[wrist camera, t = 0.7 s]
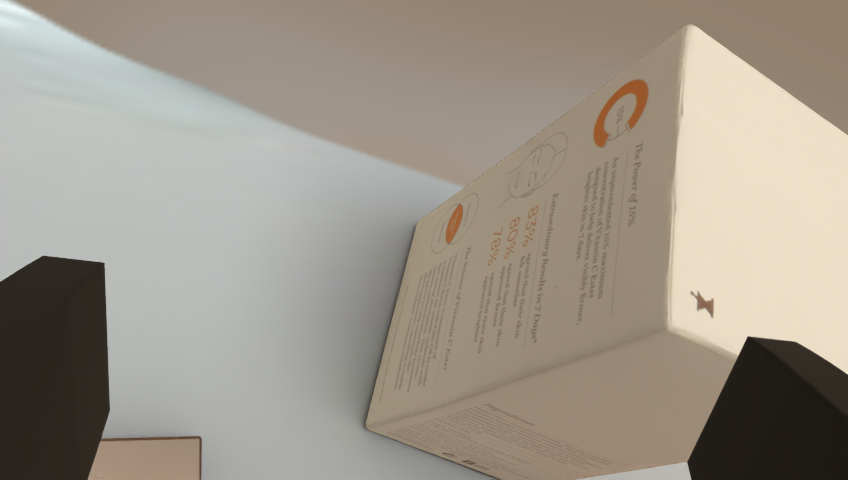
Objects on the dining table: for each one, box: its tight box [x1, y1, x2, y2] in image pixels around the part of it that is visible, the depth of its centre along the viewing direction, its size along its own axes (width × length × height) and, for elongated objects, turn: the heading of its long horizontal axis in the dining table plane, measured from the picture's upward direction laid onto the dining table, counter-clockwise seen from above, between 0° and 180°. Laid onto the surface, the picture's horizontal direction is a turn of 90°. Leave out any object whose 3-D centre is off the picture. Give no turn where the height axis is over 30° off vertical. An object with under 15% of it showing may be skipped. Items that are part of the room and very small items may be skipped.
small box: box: [366, 24, 848, 480], centre depth 22 cm, size 8×6×13 cm
